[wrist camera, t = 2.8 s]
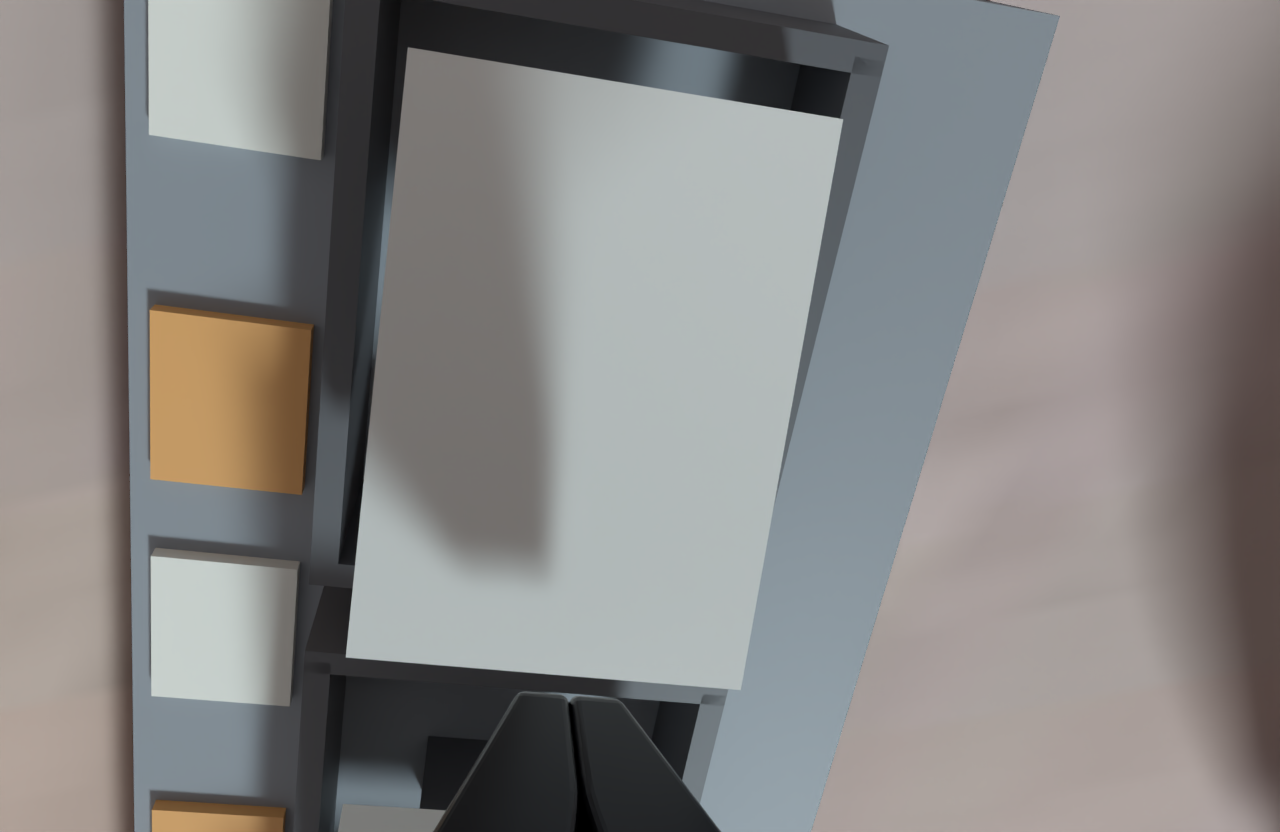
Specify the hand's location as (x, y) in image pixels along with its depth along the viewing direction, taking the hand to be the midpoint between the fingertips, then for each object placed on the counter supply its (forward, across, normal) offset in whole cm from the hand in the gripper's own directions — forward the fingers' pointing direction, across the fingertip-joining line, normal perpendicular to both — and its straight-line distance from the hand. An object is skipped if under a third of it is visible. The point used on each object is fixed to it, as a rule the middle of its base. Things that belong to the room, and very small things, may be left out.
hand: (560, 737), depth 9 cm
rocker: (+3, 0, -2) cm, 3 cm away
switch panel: (+8, 0, +5) cm, 9 cm away
